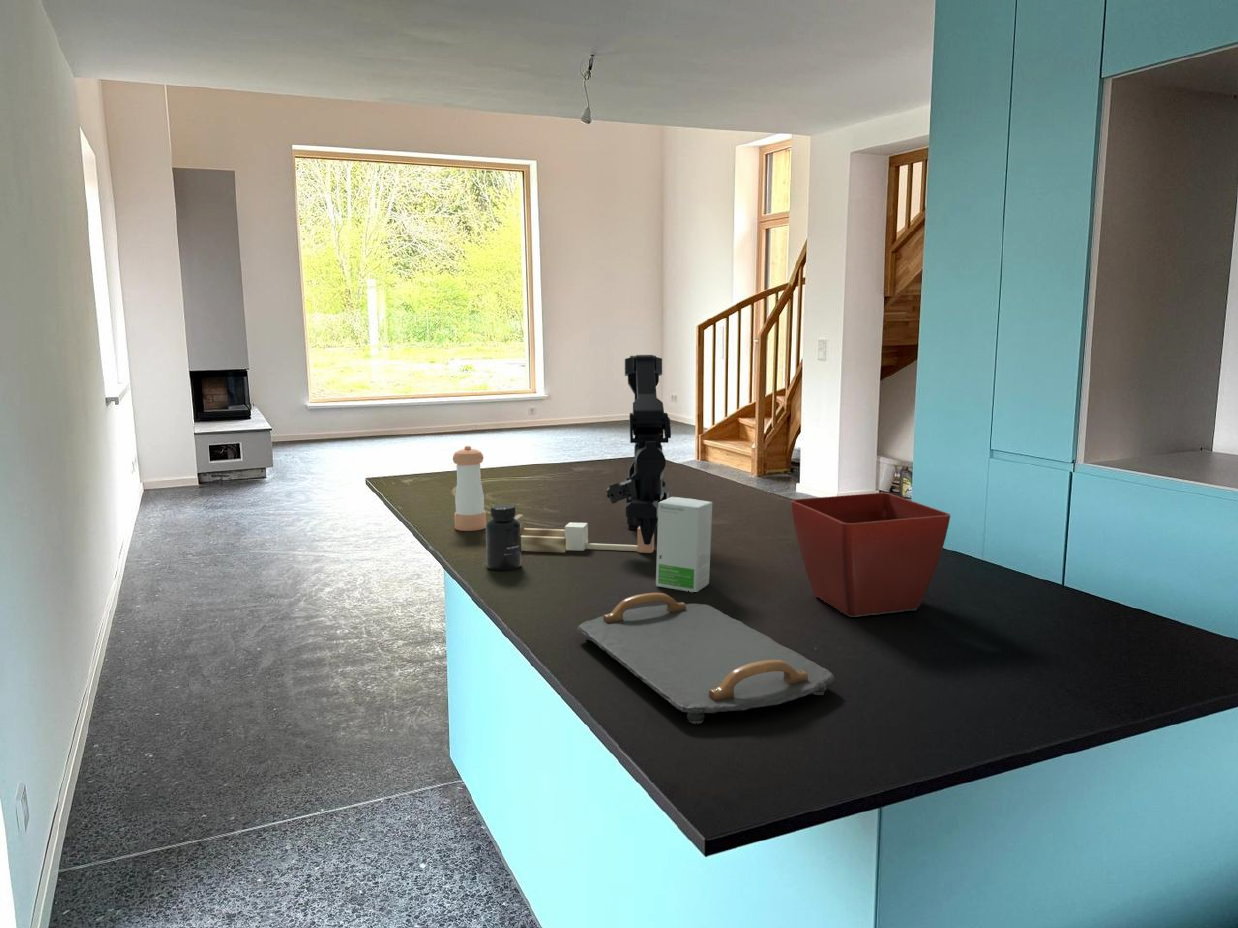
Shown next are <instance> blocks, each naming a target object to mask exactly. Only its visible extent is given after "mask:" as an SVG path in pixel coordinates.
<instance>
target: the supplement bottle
mask: <svg viewBox="0 0 1238 928" xmlns="http://www.w3.org/2000/svg"><path fill="white" fill-rule="evenodd" d="M489 514H490V515H489V517H490V518H491V519H489V520H488V521H486V528H485V546H486V547H485V556H486V557H485V559H486V561H485V563H486V566H487V568H488V569H489V570H492V571H500V572H502V571H504V572H505V571H512V570H513V571H514V570H516V569H519V568H520V567H521V565H522V551H521V524H520V522H519V521H518V520H517V519H515V516H517V513H516V505H512V504H496V505H492V506H490V513H489Z"/></svg>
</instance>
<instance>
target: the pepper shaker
mask: <svg viewBox="0 0 1238 928" xmlns="http://www.w3.org/2000/svg"><path fill="white" fill-rule="evenodd" d="M452 461H453V463H454V464H455V465H456V466H455V467H456V489H455V497H454V501H455V503H454V505H455V512H454V529H455V530H457V531H462V532H463V531H464V532H471V531H473V532H474V531H480V530H484V529H486V524H487V514H486V511H485V496H484V492H483V491H484V490H483V486H482V485H483V484H482V477H481V476H482V474H481V464H482V463H483V461H484V454H483V453H482V452H481V451H480V450H478V449H475V448H472V446H470V445H466V446H464V447H463V448H462V449H460V450H458V451H455V452H454V453H453V456H452Z"/></svg>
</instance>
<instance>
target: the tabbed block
mask: <svg viewBox="0 0 1238 928" xmlns="http://www.w3.org/2000/svg"><path fill="white" fill-rule="evenodd" d="M564 529H565V537H566V551H581V552H582V551H585V550H600V551H601V550H603V551H604V550H605V551H624V552H625V551H630V552H632V551H633V552H637V553H641V554H643V553H645V554H652V553H653V552H654V550H655V535H654V534H653V537H652V539H651V542H650V544H649V545H645V544H644V541H643V537H642V533H641V529H640V526H639V527H638V529H636V532H637V540H636V541H637V544H619V543H618V544H617V543H616V544H615V543H613V544H612V543H595V542H594V543H591V542H589V525H588V522H568V523H567V524H566V525H565V526H564Z"/></svg>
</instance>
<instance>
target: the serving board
mask: <svg viewBox="0 0 1238 928" xmlns="http://www.w3.org/2000/svg"><path fill="white" fill-rule="evenodd" d="M651 602H652V603H653V602H654V603H655V602H664V603H666V604H661V605H651V606H640V607H637V608H632V607H634V606H636V605H640V604H645V603H651ZM577 630H578V631H579V632H580V633H581V634H583V635H584V637H585V640H586V641H587V640H589V641H588V642H593V643H594V644H595V645H597V646H598V647H599V648H600V649H601V650H603V651H604V652H605V653H606V654H608V655H609V656H610V657H611V658H612V659H614V660H615V661H617V662H618V663H620V665H621V666H622V667H624V668H626V669H627V671H629V672H631V673H632V674H633V675H634V676H635V677H637V679H639V680H641V681H642V682H643V684H645V685H647V686H648V687H649V688H651V689H652V690H653V691H654V692H656V693H657V694H659V696H660V697H662V698H663V699H664V700H666V701H667V702H668V703H670V704H671V705H672V706H673V707H675V708H676V709H677V710H679V711H681V712H682V713H683V712H684V713H687V714H686V720H687V719H688V720H690V721H702V720H704V719H706V718H705V717H706V716H705V714H716V713H719V712H720V713H721V712H722V713H723V712H725V713H726V712H738V711H739V712H741V711H747V710H750V709H757V708H762V707H763V708H764V707H772V706H776V705H780V704H785V703H788V702H790V701H795V700H797V699H800V698H802V697H805V696H806V697H807V696H808V695H812V694H811V693H814V692H824V691H825V690H826V691H827V687H826V686H827V685H830V684H831V683H832V682H833V681H834V680H835V675H834V674H833V673H832V672H831V671H830V670H829V669H827V668H825V667H822V666H821V665H819V664H817V663H816V662H814V661H812V660H810V659H808V658H806V657H805V656H803V655H801V654H800V653H798V652H796V651H794V650H793V649H790V648H788V647H786V646H784V645H782V644H779V643H778V642H776V641H775V640H773V639H772V638H771V637H770V636H767V635H766V634H764V633H762V632H761V631H760V632H759V631H758V630H756V629H754V628H751V627H750V626H748V625H746V624H744V623H743V622H742V621H740V620H737V619H736V618H733V617H730V616H729V615H728V614H726V613H725V614H724V613H723V612H722V611H720V610H719V609H716V608H715V607H713V606H712V605H708V604H704V603H703V604H702V603H685V602H683V601H681V602H677V601H676V600H675V599H674V598H673V597H671V596H670V595H668V594H666V593H663V592H647V593H642V594H640V593H639V594H636V595H632V596H629V597H626V598H624V599H622V600H621V601H619V603H618V604H617V605H616V606H615V607H614V608H613V610H612V611H611V612H609V613H607V614H603V615H601V616H598V617H595V618H593V619H590V620H586V621H584V622H582V623H581V624H578V626H577ZM688 720H687V721H688ZM704 721H705V720H704Z"/></svg>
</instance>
